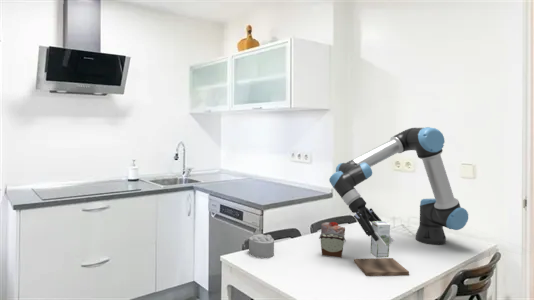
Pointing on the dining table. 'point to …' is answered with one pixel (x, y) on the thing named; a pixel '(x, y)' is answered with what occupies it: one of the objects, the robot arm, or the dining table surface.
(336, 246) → the food container
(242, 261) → the dining table surface
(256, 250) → the lumpy-topped squat cylinder
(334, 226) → the food item
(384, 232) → the syrup box
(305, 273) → the dining table surface
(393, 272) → the walnut board
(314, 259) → the dining table surface
